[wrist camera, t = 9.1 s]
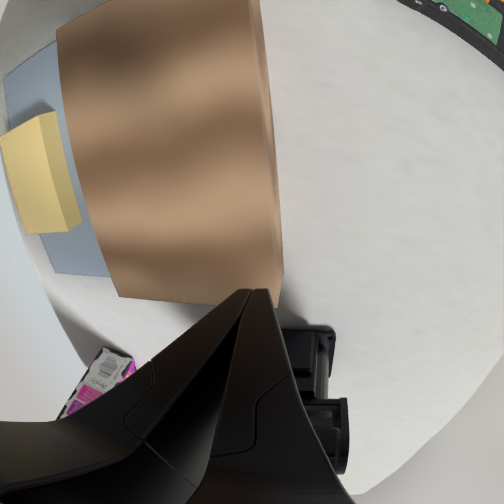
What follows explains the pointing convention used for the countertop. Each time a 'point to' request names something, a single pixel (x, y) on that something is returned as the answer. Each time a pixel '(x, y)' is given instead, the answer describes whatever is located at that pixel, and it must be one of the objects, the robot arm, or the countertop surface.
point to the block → (40, 176)
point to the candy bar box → (99, 379)
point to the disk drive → (469, 22)
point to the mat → (47, 100)
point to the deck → (175, 146)
